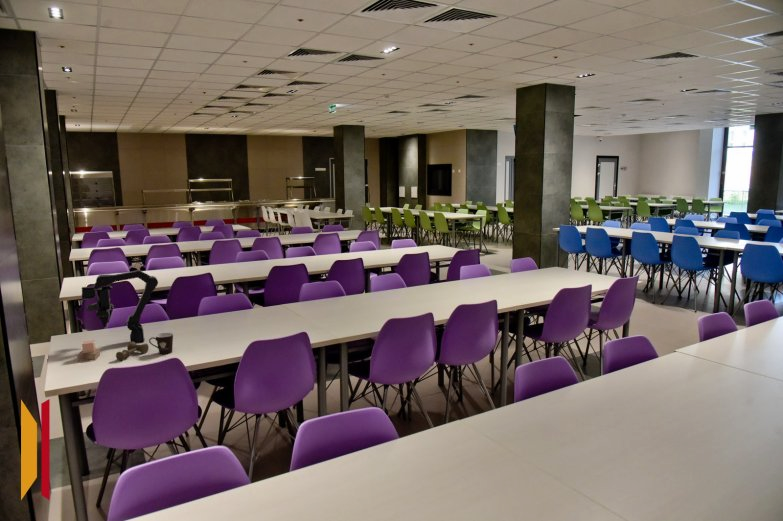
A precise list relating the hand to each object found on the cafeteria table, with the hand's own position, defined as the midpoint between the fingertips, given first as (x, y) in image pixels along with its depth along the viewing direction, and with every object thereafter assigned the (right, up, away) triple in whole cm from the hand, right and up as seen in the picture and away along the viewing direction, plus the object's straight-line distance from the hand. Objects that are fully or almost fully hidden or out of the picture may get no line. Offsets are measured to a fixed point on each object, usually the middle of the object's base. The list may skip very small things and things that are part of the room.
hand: (106, 324), depth 294 cm
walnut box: (+1, -16, -19) cm, 24 cm away
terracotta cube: (+1, -11, -19) cm, 22 cm away
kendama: (+22, -15, -14) cm, 30 cm away
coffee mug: (+36, -14, -10) cm, 40 cm away
